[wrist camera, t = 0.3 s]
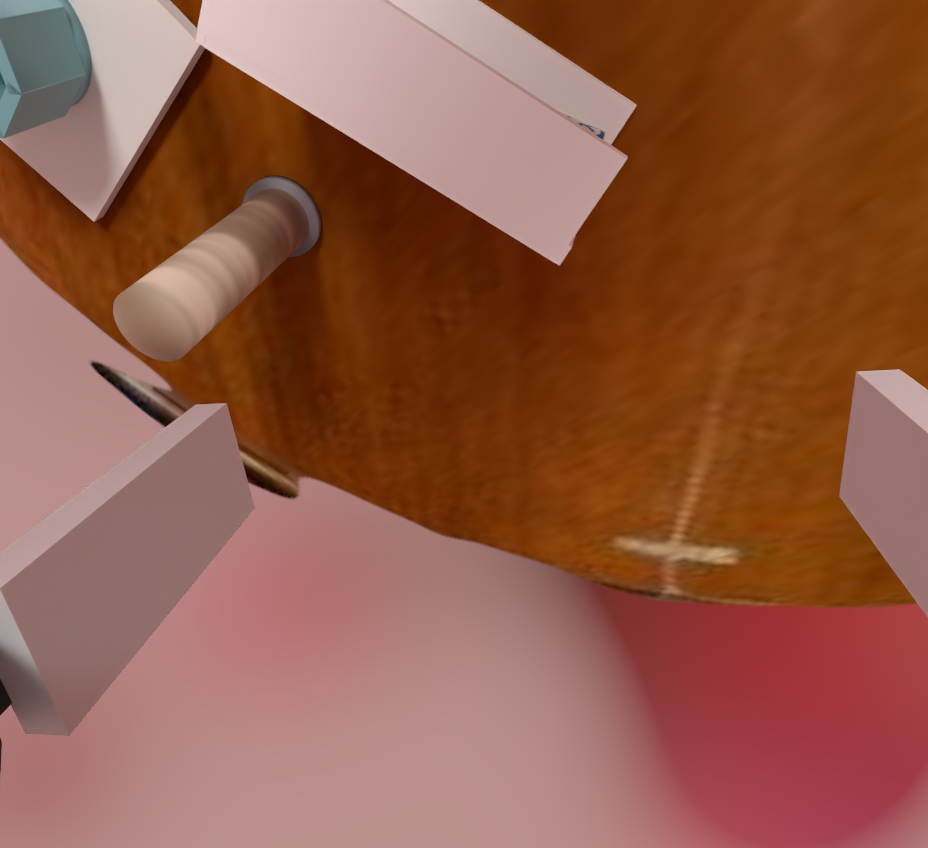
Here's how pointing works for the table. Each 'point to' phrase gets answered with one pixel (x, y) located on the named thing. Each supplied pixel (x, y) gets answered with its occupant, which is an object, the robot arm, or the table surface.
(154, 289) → the pillar candle on dish
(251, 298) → the table surface
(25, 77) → the octagonal cup on tile
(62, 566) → the robot arm
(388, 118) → the cigarette display
